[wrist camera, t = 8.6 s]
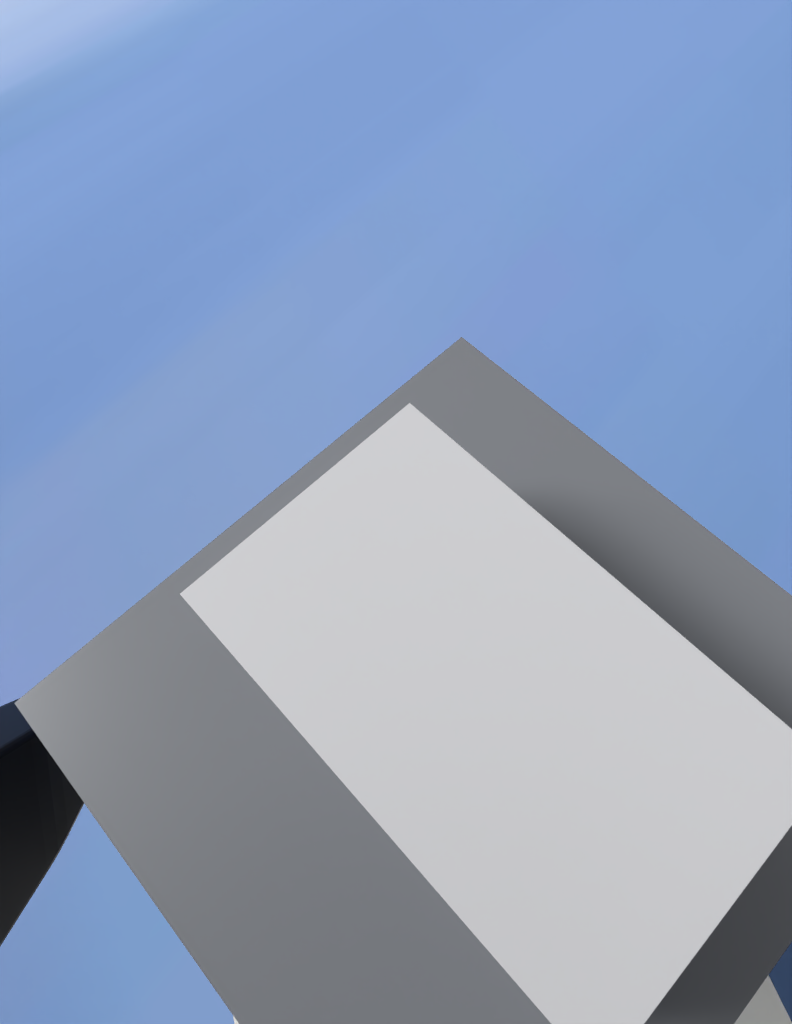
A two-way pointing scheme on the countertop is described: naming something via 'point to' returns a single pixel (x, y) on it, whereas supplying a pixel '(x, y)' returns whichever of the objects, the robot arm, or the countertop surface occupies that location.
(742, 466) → the countertop surface
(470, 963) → the grey pedestal with block
